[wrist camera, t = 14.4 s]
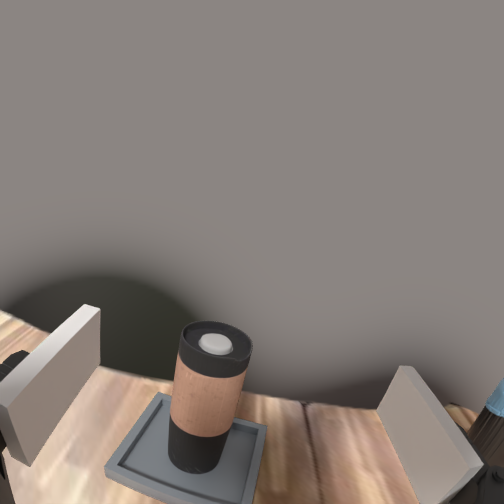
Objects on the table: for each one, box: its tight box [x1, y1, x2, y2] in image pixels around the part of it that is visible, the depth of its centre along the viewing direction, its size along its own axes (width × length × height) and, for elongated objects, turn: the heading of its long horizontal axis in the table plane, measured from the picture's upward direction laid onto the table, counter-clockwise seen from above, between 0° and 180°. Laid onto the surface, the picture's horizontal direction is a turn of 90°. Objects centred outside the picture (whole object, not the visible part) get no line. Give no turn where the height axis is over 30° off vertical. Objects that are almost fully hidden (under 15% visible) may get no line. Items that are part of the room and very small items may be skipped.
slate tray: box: [104, 392, 267, 504], centre depth 36 cm, size 18×18×2 cm
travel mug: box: [168, 321, 253, 474], centre depth 34 cm, size 8×8×20 cm
